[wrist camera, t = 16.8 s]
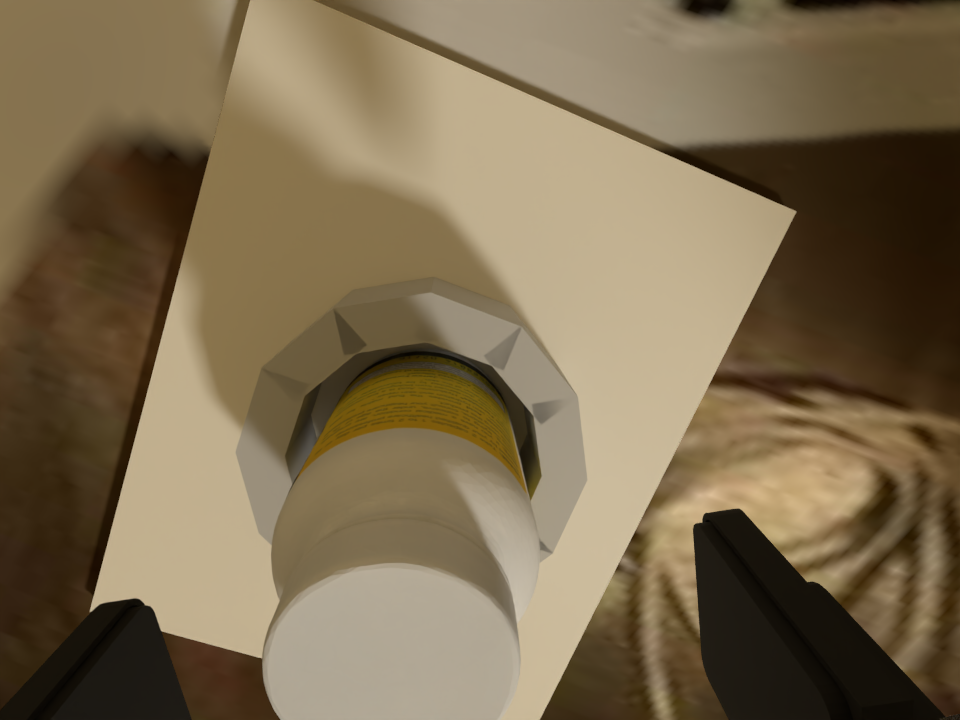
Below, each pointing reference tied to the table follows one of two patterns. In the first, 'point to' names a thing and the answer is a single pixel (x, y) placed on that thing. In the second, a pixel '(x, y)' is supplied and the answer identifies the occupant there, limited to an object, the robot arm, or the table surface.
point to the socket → (422, 314)
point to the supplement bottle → (404, 552)
